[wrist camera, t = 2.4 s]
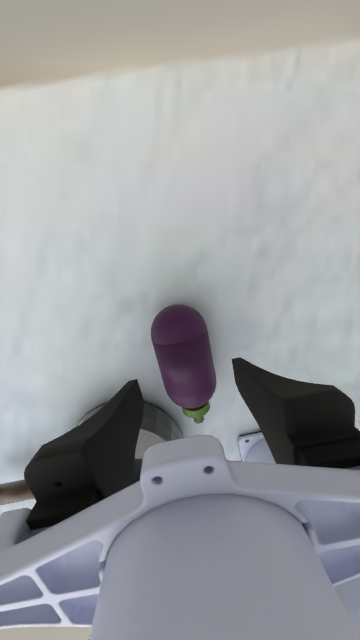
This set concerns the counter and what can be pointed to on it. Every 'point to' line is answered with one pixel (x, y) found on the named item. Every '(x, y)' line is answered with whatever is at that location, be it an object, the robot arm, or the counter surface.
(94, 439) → the robot arm
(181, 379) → the eggplant
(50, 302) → the counter surface
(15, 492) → the pan handle
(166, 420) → the pan
